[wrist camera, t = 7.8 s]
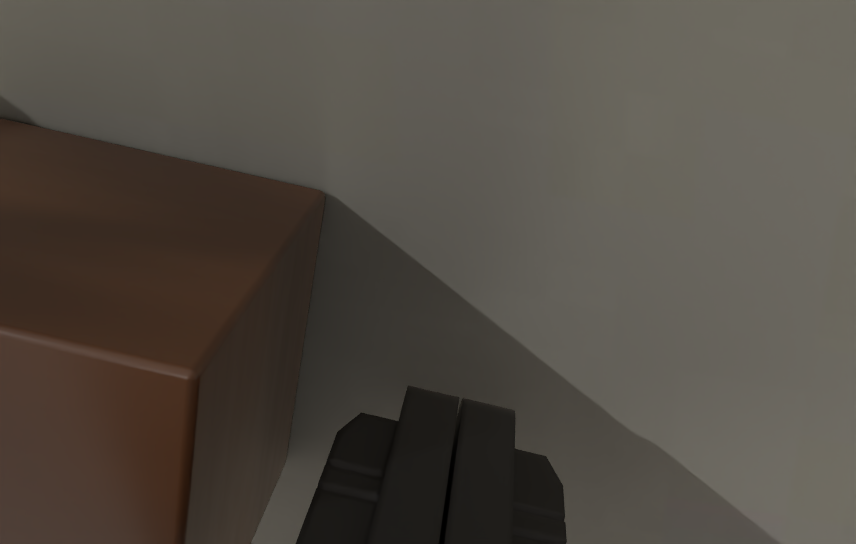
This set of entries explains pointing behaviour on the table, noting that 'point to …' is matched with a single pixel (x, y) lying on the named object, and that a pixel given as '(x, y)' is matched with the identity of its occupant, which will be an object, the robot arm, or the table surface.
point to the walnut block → (145, 341)
